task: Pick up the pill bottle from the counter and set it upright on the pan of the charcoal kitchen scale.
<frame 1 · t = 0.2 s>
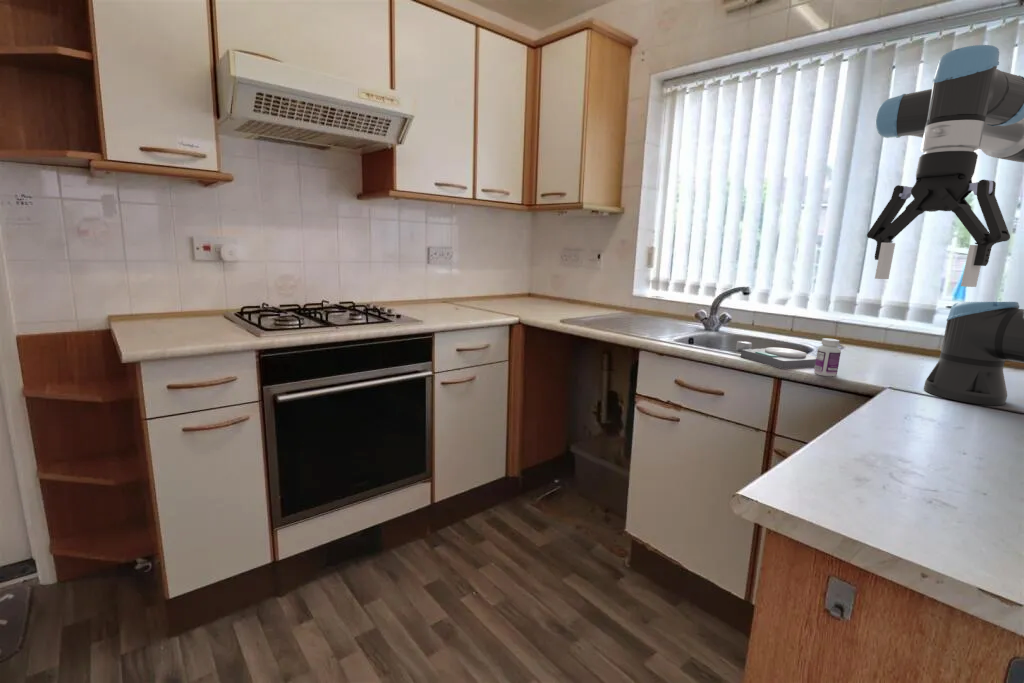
hand: (922, 282, 90), 28 cm above the countertop, fingers open, 13 cm apart
spacer: (743, 351, 168), on the countertop
pill bottle: (824, 375, 141), on the countertop
scale: (780, 361, 155), on the countertop
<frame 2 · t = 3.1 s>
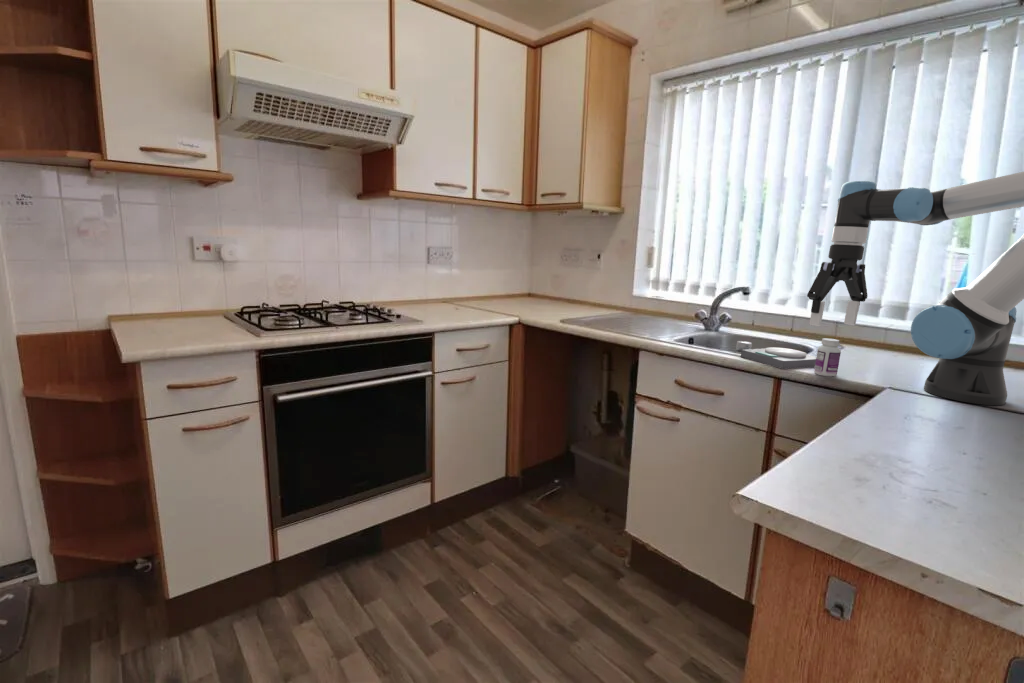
hand: (832, 325, 139), 13 cm above the countertop, fingers open, 13 cm apart
nothing on the countertop moved.
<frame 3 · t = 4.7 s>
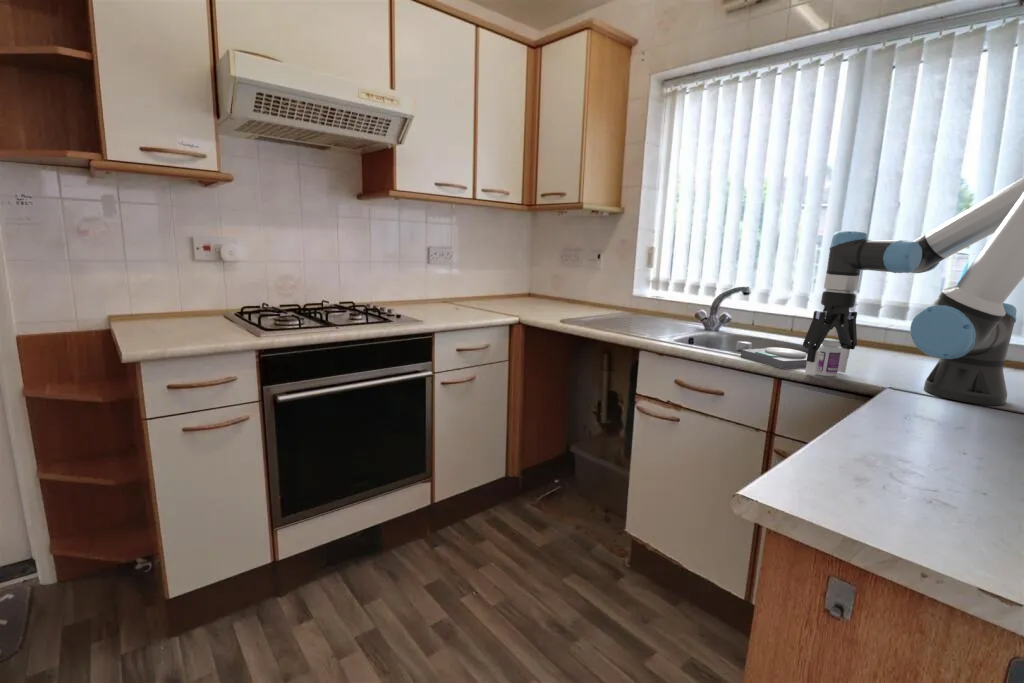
hand: (825, 372, 141), 0 cm above the countertop, fingers open, 11 cm apart
nothing on the countertop moved.
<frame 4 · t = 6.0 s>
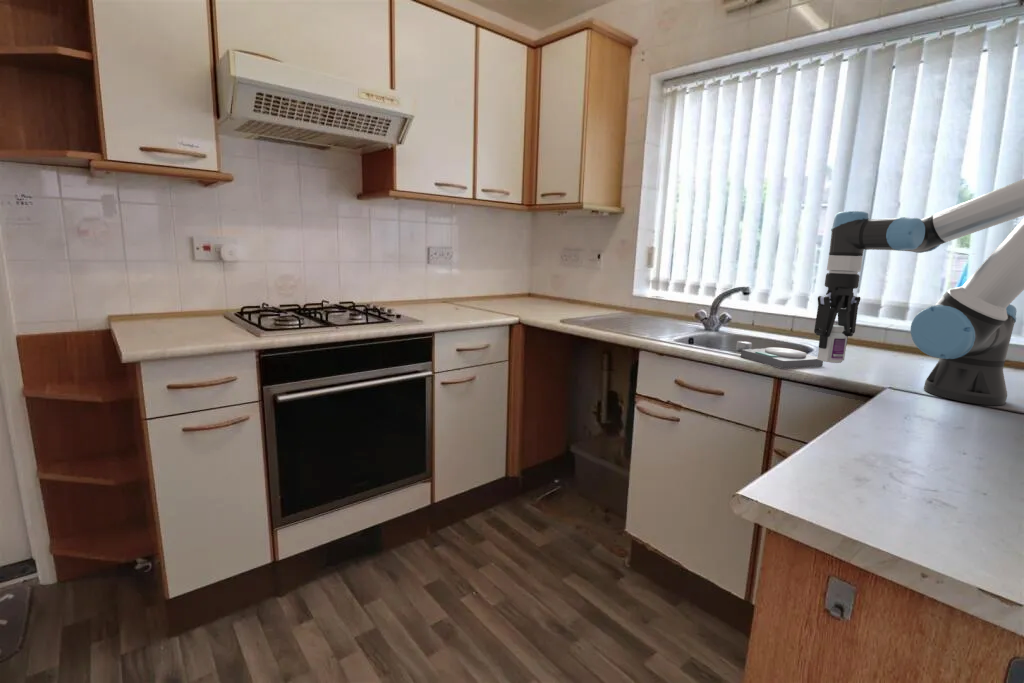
hand: (830, 359, 140), 4 cm above the countertop, fingers closed on pill bottle, 5 cm apart
pill bottle: (830, 362, 140), point 4 cm above the countertop, touching gripper
everything else where it was.
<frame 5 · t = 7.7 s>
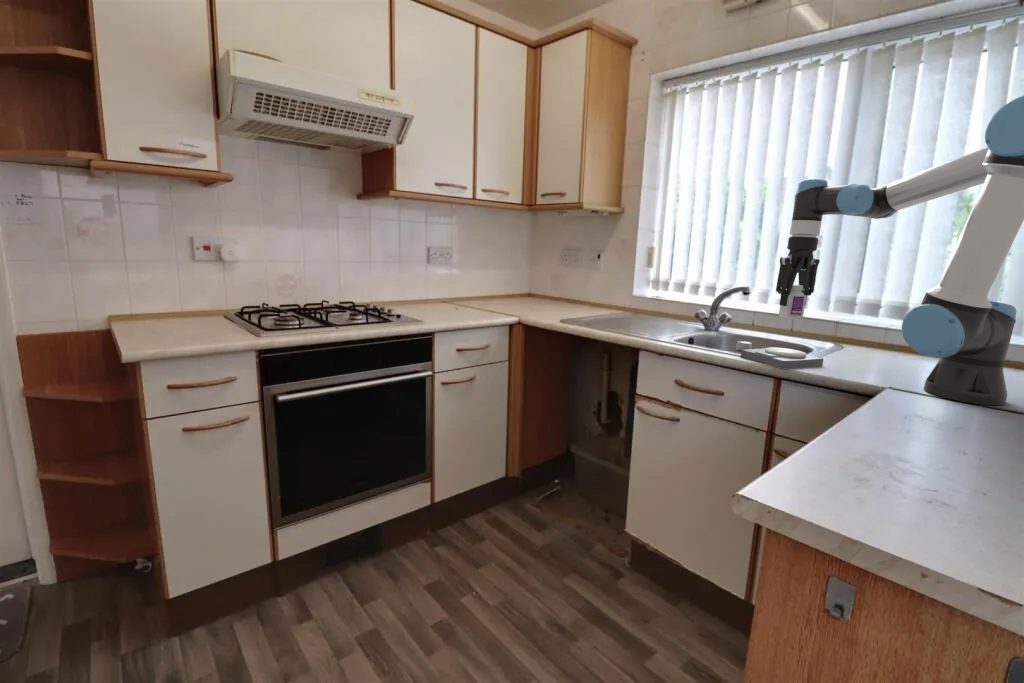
hand: (790, 316, 153), 13 cm above the countertop, fingers closed on pill bottle, 5 cm apart
pill bottle: (790, 318, 153), point 13 cm above the countertop, touching gripper
everything else where it was.
when the fingers open (4 cm above the countertop, at t = 9.3 s): pill bottle stays where it is, resting on scale.
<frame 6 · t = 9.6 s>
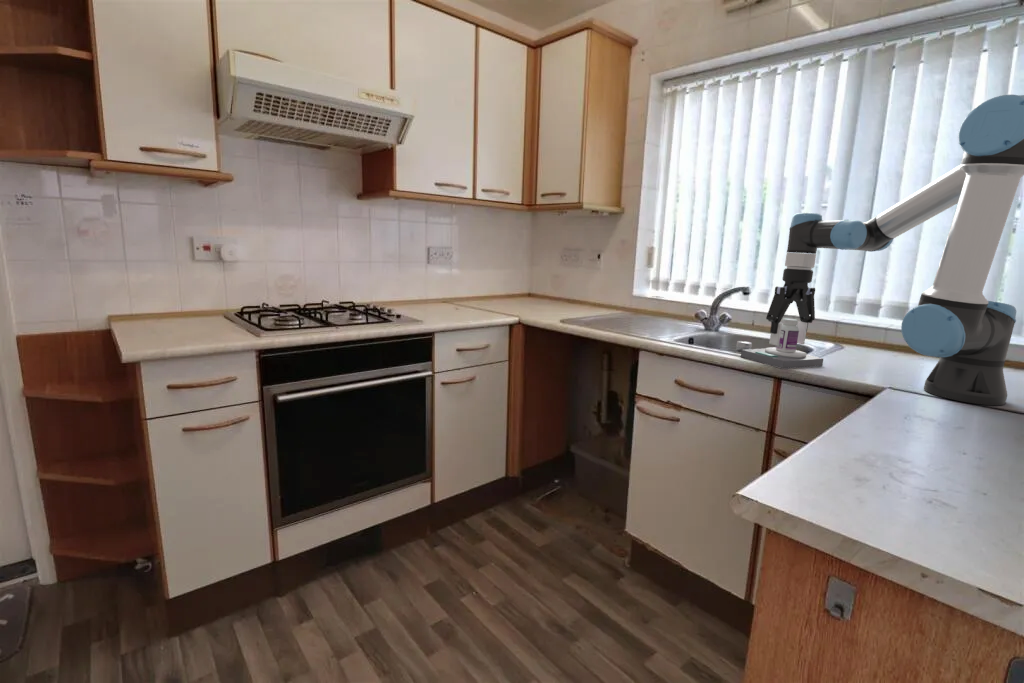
hand: (786, 344, 155), 5 cm above the countertop, fingers open, 10 cm apart
pill bottle: (785, 351, 155), point 3 cm above the countertop, touching scale
everything else where it was.
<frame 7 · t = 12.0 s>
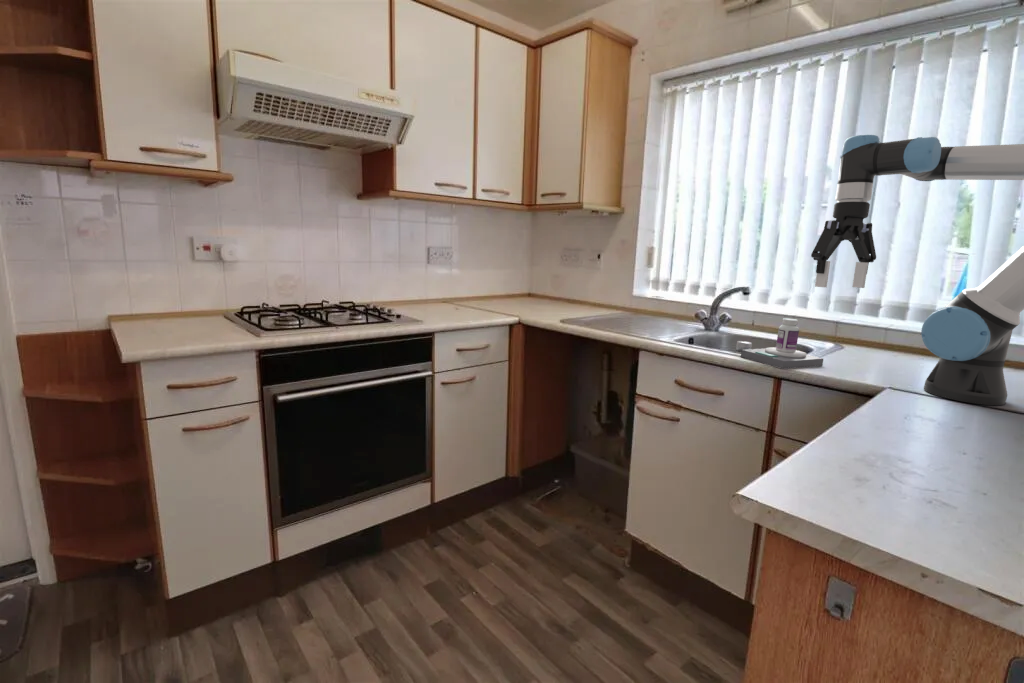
hand: (839, 287, 134), 24 cm above the countertop, fingers open, 13 cm apart
nothing on the countertop moved.
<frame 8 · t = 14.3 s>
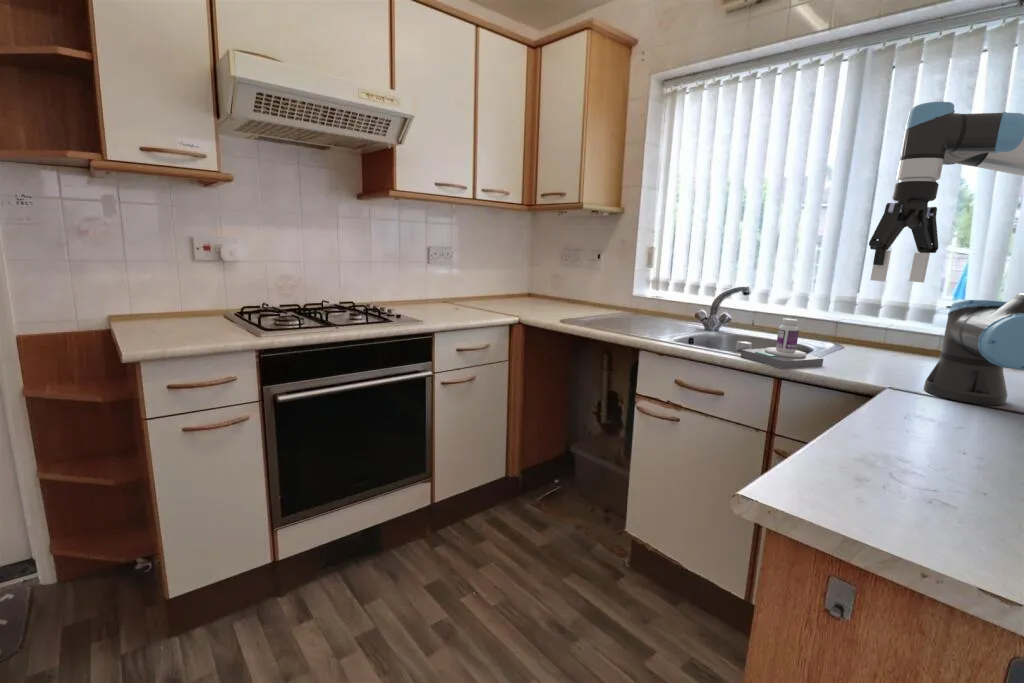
hand: (897, 281, 115), 27 cm above the countertop, fingers open, 13 cm apart
nothing on the countertop moved.
at the end: pill bottle inside the target area on the scale (0.1 cm from its centre), point 2.8 cm above the scale's base; pill bottle tilted 0°; the gripper is holding nothing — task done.
